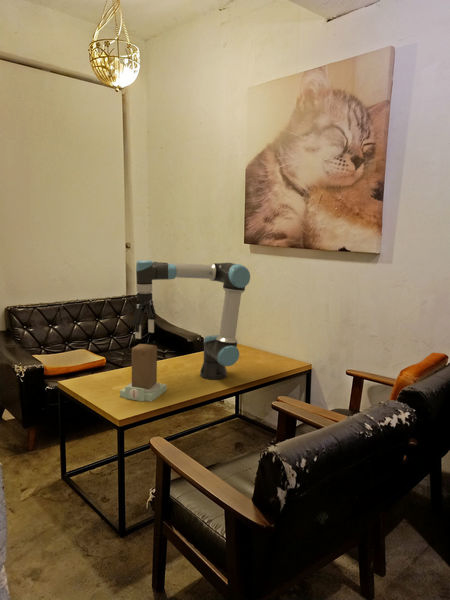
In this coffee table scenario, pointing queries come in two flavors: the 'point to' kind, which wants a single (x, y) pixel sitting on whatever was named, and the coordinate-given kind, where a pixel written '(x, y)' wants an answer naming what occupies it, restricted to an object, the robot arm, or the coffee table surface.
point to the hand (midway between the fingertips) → (144, 335)
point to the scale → (143, 392)
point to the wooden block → (144, 366)
